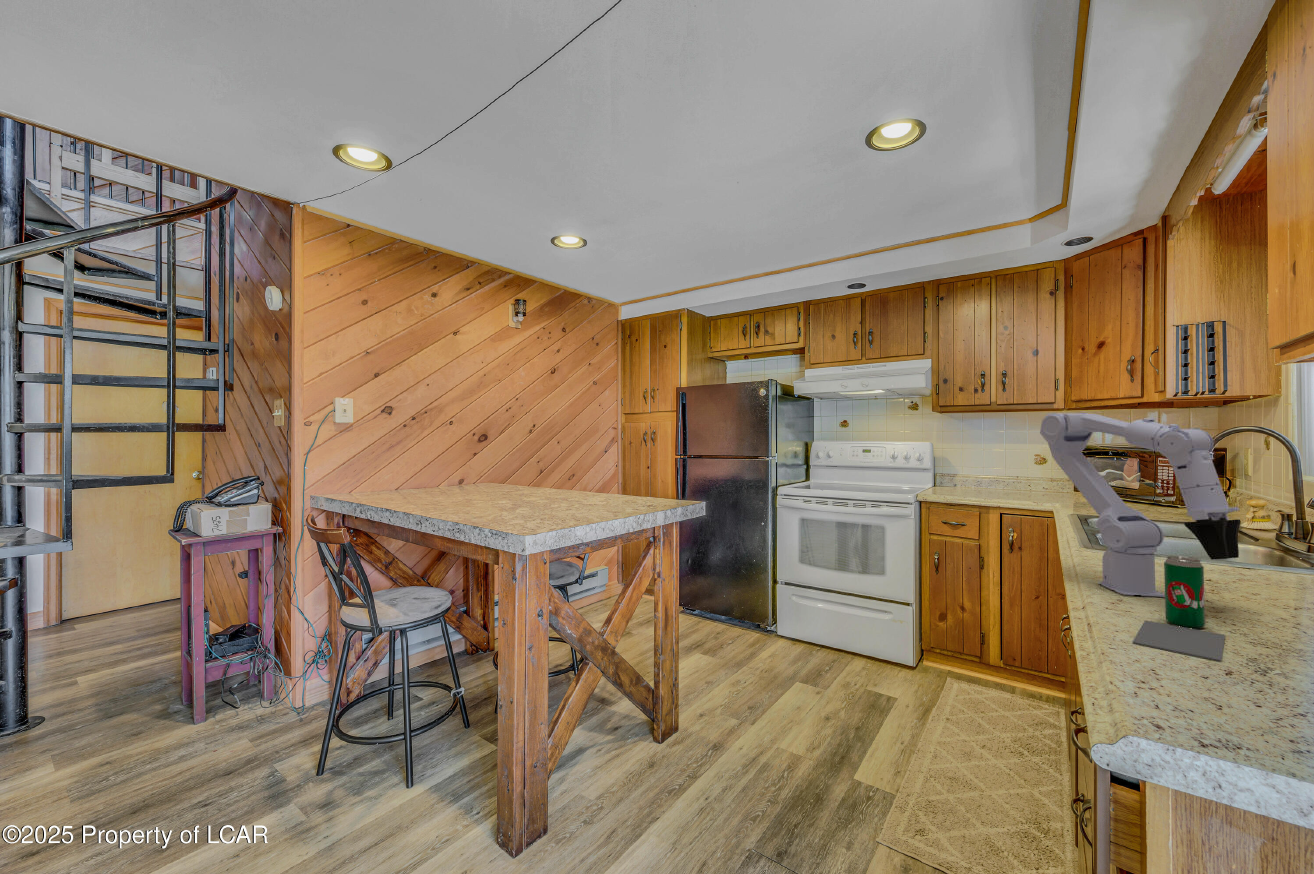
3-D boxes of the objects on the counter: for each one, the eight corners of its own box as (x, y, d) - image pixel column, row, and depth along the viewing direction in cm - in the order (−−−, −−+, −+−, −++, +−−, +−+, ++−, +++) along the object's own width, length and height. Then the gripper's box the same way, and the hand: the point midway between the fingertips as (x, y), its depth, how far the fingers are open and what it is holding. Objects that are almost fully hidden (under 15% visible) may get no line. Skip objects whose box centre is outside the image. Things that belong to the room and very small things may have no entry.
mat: (1145, 621, 96) (1145, 620, 96) (1225, 636, 89) (1225, 634, 89) (1132, 643, 86) (1132, 641, 86) (1221, 661, 79) (1221, 660, 79)
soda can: (1187, 620, 97) (1185, 555, 97) (1213, 630, 92) (1212, 561, 92) (1157, 619, 97) (1156, 555, 97) (1182, 629, 92) (1180, 561, 92)
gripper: (1218, 482, 95) (1245, 558, 92) (1239, 485, 103) (1265, 555, 99) (1167, 489, 101) (1191, 560, 97) (1190, 492, 109) (1213, 558, 105)
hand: (1225, 558), depth 99 cm, fingers open, 7 cm apart
